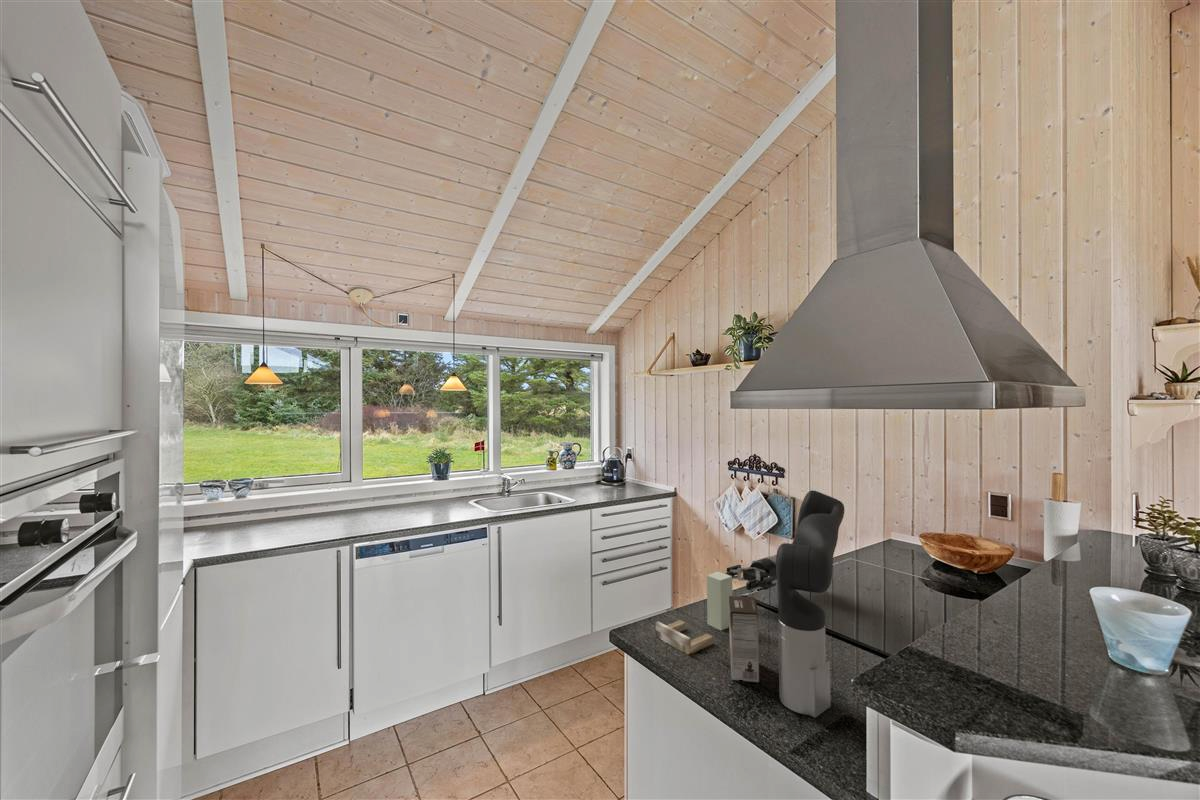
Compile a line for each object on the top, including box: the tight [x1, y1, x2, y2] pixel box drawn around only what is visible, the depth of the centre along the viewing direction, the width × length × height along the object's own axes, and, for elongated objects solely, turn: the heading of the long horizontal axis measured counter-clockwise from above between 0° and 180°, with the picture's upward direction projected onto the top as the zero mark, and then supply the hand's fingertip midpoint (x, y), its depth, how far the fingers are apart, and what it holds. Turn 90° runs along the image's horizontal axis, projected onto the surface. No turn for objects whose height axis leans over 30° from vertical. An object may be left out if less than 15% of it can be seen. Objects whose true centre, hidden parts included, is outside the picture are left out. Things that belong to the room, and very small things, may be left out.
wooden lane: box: [655, 619, 714, 656], centre depth 131 cm, size 12×9×4 cm
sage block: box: [706, 571, 733, 631], centre depth 140 cm, size 5×5×14 cm
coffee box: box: [728, 595, 760, 683], centre depth 116 cm, size 9×6×16 cm
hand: (735, 582), depth 144 cm, fingers open, 8 cm apart
